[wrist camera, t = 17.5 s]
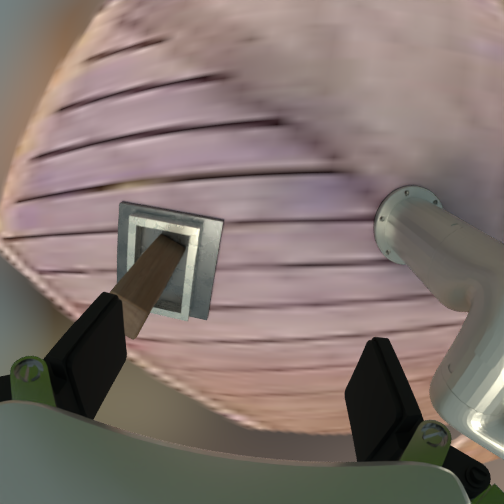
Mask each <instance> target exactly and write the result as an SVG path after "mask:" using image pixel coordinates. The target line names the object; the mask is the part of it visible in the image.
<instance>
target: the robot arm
mask: <svg viewBox="0 0 504 504" xmlns="http://www.w3.org/2000/svg"><path fill="white" fill-rule="evenodd" d="M405 191H406V192H405ZM404 192H405V193H404ZM433 201H434V202H433ZM381 216H382V218H381V219H380V217H381ZM374 237H375V241H376V243H377V246H378V248H379V249H380V251H381V252H382V253H383V255H384V256H385V257H386V258H388V259H389V260H390V261H392V262H394V263H397V264H402V265H407V266H408V267H409V268H410V269H411V270H412V271H413V272H414V273H415V275H416V276H417V277H418V278H419V279H420V280H421V281H422V282H423V284H424V285H425V286H426V287H427V288H428V289H429V290H430V292H431V293H432V294H433V295H434V296H435V297H436V298H437V299H438V300H439V302H440V303H442V304H443V305H444V306H445V307H447V308H449V309H451V310H454V311H458V312H469V313H468V315H467V317H466V319H465V321H464V323H463V325H462V328H461V330H460V331H459V333H458V335H457V337H456V338H455V340H454V342H453V344H452V345H451V347H450V349H449V350H448V352H447V354H446V355H445V357H444V358H443V360H442V362H441V364H440V365H439V367H438V368H437V370H436V372H435V374H434V376H433V378H432V381H431V384H430V389H429V393H430V399H431V402H432V405H433V407H434V408H435V410H436V411H437V413H438V414H439V415H440V416H441V417H442V418H443V419H444V420H445V421H446V422H447V423H448V424H449V425H451V426H452V427H453V428H455V429H456V430H458V431H459V432H460V433H462V434H463V435H465V436H467V437H468V438H470V439H471V440H473V441H474V442H476V443H478V444H479V445H481V446H482V447H484V448H486V449H487V450H489V451H490V452H492V453H494V454H495V455H497V456H498V457H500V458H502V459H503V460H504V244H503V243H501V242H499V241H497V240H495V239H494V238H492V237H490V236H489V235H487V234H485V233H484V232H482V231H480V230H479V229H477V228H475V227H473V226H472V225H470V224H468V223H467V222H465V221H463V220H461V219H460V218H458V217H456V216H454V215H453V214H451V213H449V212H447V211H445V210H444V209H443V207H442V205H441V203H440V201H439V199H438V198H437V197H436V196H435V195H434V194H433V193H432V192H431V191H429V190H427V189H425V188H422V187H419V186H405V187H402V188H399V189H397V190H395V191H394V192H392V193H391V194H390V195H389V196H387V197H386V198H385V200H384V201H383V202H382V203H381V205H380V207H379V209H378V211H377V214H376V217H375V221H374ZM386 250H387V251H386ZM126 357H127V350H126V341H125V330H124V318H123V304H122V300H120V299H119V297H118V296H117V295H115V294H111V293H107V292H103V293H101V294H100V296H99V297H98V298H97V299H96V300H95V301H94V302H93V303H92V304H91V305H90V307H89V308H88V309H87V310H86V311H85V312H84V313H83V314H82V315H81V317H80V318H79V319H78V320H77V321H76V322H75V323H74V324H73V325H72V326H71V327H70V328H69V329H68V331H67V332H66V333H65V334H64V335H63V336H62V338H61V339H60V340H59V341H58V342H57V343H56V345H55V346H54V347H53V348H52V349H51V351H50V352H49V353H48V354H47V355H46V357H45V358H44V359H41V358H39V357H36V356H25V357H22V358H20V359H18V360H17V361H15V362H14V364H13V365H12V367H11V370H10V375H6V376H1V377H0V504H504V492H503V491H502V490H501V489H500V488H499V487H498V486H497V485H496V484H493V485H491V484H490V480H491V478H490V473H489V471H488V469H487V468H486V467H485V466H484V465H483V464H482V463H480V462H478V461H476V460H475V459H473V458H471V457H469V456H468V455H466V454H464V453H463V452H461V451H459V450H458V449H456V448H454V447H452V446H451V445H450V444H451V440H452V438H451V433H450V431H449V430H448V428H447V427H446V426H445V425H443V424H442V423H441V422H438V421H436V420H425V421H424V420H423V417H422V414H421V411H420V409H419V406H418V404H417V402H416V399H415V397H414V394H413V392H412V390H411V387H410V385H409V383H408V380H407V378H406V376H405V373H404V371H403V369H402V367H401V365H400V362H399V360H398V358H397V356H396V354H395V351H394V349H393V347H392V345H391V343H390V341H389V339H388V338H380V337H373V338H372V340H369V341H368V342H367V343H366V346H365V348H364V350H363V353H362V355H361V357H360V359H359V362H358V364H357V366H356V368H355V370H354V373H353V375H352V377H351V379H350V381H349V383H348V385H347V387H346V390H345V401H346V406H347V411H348V416H349V421H350V426H351V431H352V436H353V441H354V446H355V452H356V457H357V462H311V461H292V460H278V459H268V458H267V459H266V458H257V457H249V456H241V455H234V454H227V453H221V452H215V451H209V450H204V449H199V448H194V447H189V446H184V445H179V444H175V443H171V442H166V441H162V440H158V439H154V438H151V437H146V436H143V435H140V434H136V433H133V432H129V431H126V430H123V429H120V428H117V427H113V426H110V425H107V424H104V423H101V422H98V421H95V420H93V419H94V417H95V416H96V413H97V411H98V410H99V408H100V406H101V404H102V402H103V401H104V399H105V397H106V395H107V393H108V391H109V390H110V388H111V386H112V384H113V382H114V381H115V379H116V377H117V375H118V373H119V372H120V370H121V368H122V366H123V364H124V363H125V361H126Z"/></svg>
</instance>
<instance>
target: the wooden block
mask: <svg viewBox="0 0 504 504" xmlns="http://www.w3.org/2000/svg"><path fill="white" fill-rule="evenodd" d="M184 252H185V247H183V246H181V245H180V244H178V243H176V242H175V241H173V240H171V239H169V238H168V237H166V236H164V235H162V234H160V235H159V236H158V237H157V238H156V239H155V241H154V242H153V243H152V244H151V245H150V246H149V247H148V248H147V249H146V251H145V252H144V253H143V254H142V255H141V256H140V258H139V259H138V260H137V261H136V262H135V263H134V264H133V266H132V267H131V268H130V269H129V270H128V271H127V273H126V274H125V275H124V276H123V277H122V278H121V280H120V281H119V282H118V283H117V284H116V285H115V287H114V288H113V289H112V290H111V291H110V293H111V294H115V295H117V296H118V297H119V299H120V300H122V304H123V318H124V330H125V335H126V336H127V337H129V338H131V339H135V338H136V337H137V335H138V334H139V332H140V330H141V328H142V326H143V325H144V323H145V321H146V319H147V317H148V315H149V314H150V312H151V310H152V308H153V307H154V305H155V304H156V303H157V301H158V299H159V298H160V296H161V294H162V292H163V290H164V289H165V287H166V285H167V283H168V281H169V279H170V277H171V276H172V274H173V272H174V270H175V268H176V266H177V265H178V263H179V261H180V259H181V257H182V256H183V254H184Z"/></svg>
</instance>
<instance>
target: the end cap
mask: <svg viewBox="0 0 504 504" xmlns="http://www.w3.org/2000/svg"><path fill="white" fill-rule="evenodd" d="M223 222H224V220H221V219H216V218H211V217H205V216H200V215H195V214H189V213H184V212H178V211H173V210H168V209H162V208H156V207H151V206H145V205H139V204H134V203H128V202H121V203H120V204H119V221H118V245H117V283H118V282H119V281H120V280H121V278H122V277H123V276H124V275H125V274H126V273H127V271H128V270H129V269H130V268H131V267H132V266H133V264H134V263H135V262H136V261H137V260H138V259H139V258H140V256H141V255H142V254H143V253H144V252H145V251H146V249H147V248H148V247H149V246H150V245H151V244H152V243H153V242H154V241H155V239H156V238H157V237H158V236H159V235H160V234H162V235H164V236H166V237H168V238H169V239H171V240H173V241H175V242H176V243H178V244H180V245H181V246H183V247H185V252H184V254H183V256H182V257H181V259H180V261H179V263H178V265H177V266H176V268H175V270H174V272H173V274H172V276H171V277H170V279H169V281H168V283H167V285H166V287H165V289H164V290H163V292H162V294H161V296H160V298H159V299H158V301H157V303H156V304H155V305H154V307H153V308H152V310H151V312H150V313H154V314H158V315H162V316H167V317H171V318H175V319H180V320H184V321H188V319H189V317H194V318H199V319H204V320H207V318H208V313H209V307H210V300H211V294H212V287H213V281H214V275H215V269H216V263H217V257H218V251H219V245H220V239H221V233H222V227H223Z"/></svg>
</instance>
